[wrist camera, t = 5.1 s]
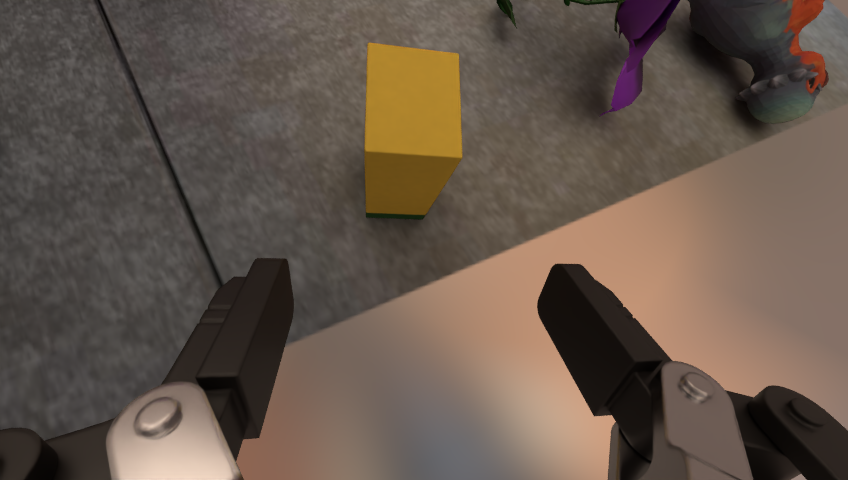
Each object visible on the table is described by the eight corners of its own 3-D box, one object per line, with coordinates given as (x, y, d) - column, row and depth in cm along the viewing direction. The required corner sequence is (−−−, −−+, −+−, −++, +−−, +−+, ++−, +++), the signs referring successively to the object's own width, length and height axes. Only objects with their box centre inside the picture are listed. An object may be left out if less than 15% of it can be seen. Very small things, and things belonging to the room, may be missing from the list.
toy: (870, -31, 28) (814, 133, 28) (714, 18, 37) (671, 142, 37) (856, -277, 18) (768, -22, 18) (646, -127, 27) (587, 43, 27)
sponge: (366, 217, 22) (364, 151, 13) (367, 150, 23) (367, 41, 14) (422, 219, 23) (462, 158, 13) (422, 154, 24) (459, 53, 14)
